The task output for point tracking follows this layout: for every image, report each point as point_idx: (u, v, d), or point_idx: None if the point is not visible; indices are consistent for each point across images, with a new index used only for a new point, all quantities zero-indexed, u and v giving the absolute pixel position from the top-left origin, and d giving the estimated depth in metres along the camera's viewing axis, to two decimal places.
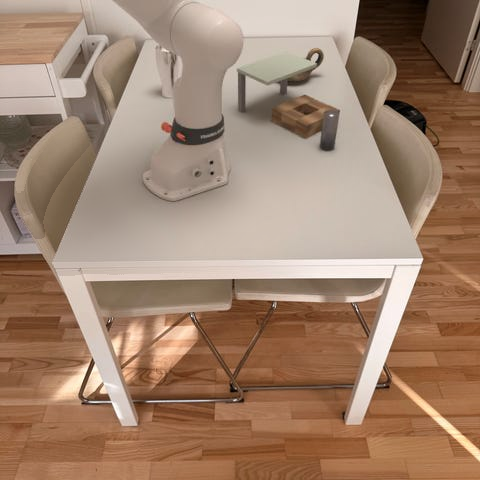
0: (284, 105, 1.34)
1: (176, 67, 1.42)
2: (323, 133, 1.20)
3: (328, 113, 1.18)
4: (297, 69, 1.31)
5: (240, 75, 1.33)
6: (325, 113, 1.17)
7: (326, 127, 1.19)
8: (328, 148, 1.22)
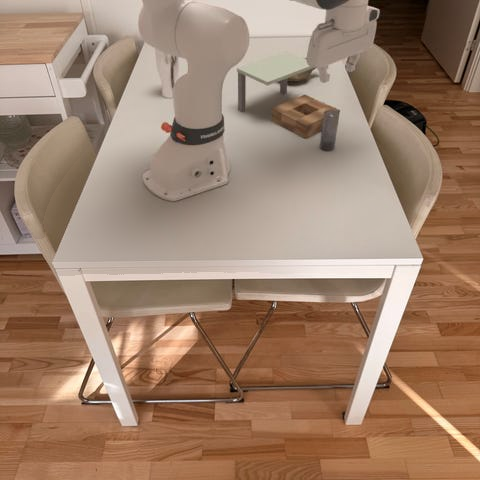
0: (284, 105, 1.34)
1: (176, 67, 1.42)
2: (323, 133, 1.20)
3: (328, 113, 1.18)
4: (297, 69, 1.31)
5: (240, 75, 1.33)
6: (325, 113, 1.17)
7: (326, 127, 1.19)
8: (328, 148, 1.22)
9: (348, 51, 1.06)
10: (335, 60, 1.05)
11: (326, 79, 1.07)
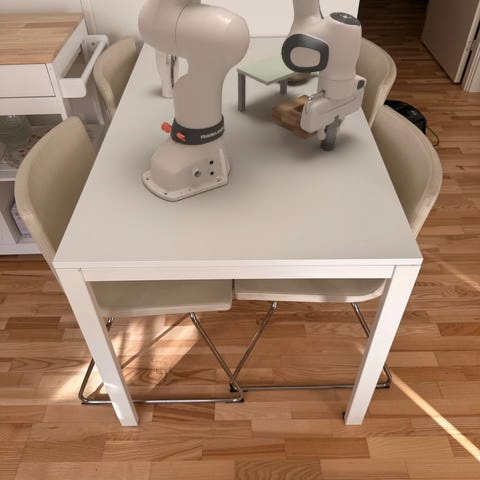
0: (284, 105, 1.34)
1: (176, 67, 1.42)
2: None
3: None
4: None
5: (240, 75, 1.33)
6: None
7: (326, 127, 1.18)
8: (328, 148, 1.22)
9: None
10: (326, 124, 1.15)
11: (323, 137, 1.19)
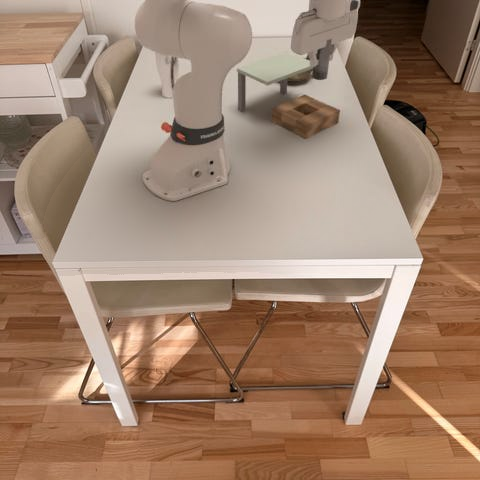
0: (284, 105, 1.34)
1: (176, 67, 1.42)
2: None
3: None
4: (297, 69, 1.31)
5: (240, 75, 1.33)
6: None
7: (318, 53, 1.15)
8: (320, 76, 1.18)
9: None
10: (318, 47, 1.12)
11: (315, 63, 1.15)
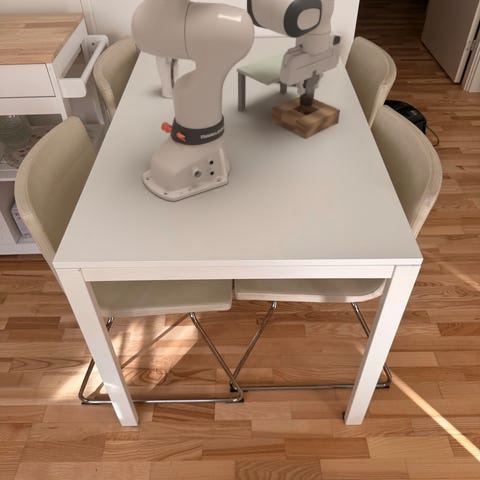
0: (284, 105, 1.34)
1: (176, 67, 1.42)
2: None
3: None
4: None
5: (240, 75, 1.33)
6: None
7: (304, 82, 1.25)
8: (307, 103, 1.29)
9: None
10: (304, 78, 1.22)
11: (302, 92, 1.26)
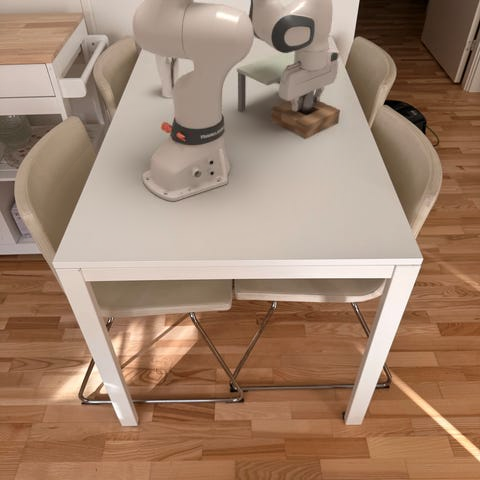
0: (284, 105, 1.34)
1: (176, 67, 1.42)
2: (300, 108, 1.31)
3: None
4: None
5: (240, 75, 1.33)
6: None
7: (302, 102, 1.29)
8: None
9: (314, 86, 1.27)
10: (303, 93, 1.25)
11: (297, 108, 1.28)
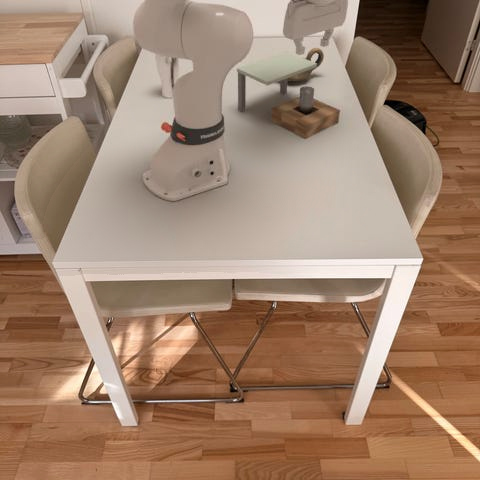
0: (284, 105, 1.34)
1: (176, 67, 1.42)
2: (300, 108, 1.31)
3: (304, 89, 1.28)
4: (297, 69, 1.31)
5: (240, 75, 1.33)
6: (301, 89, 1.28)
7: (302, 102, 1.29)
8: None
9: (322, 25, 1.15)
10: (309, 33, 1.13)
11: (301, 51, 1.16)
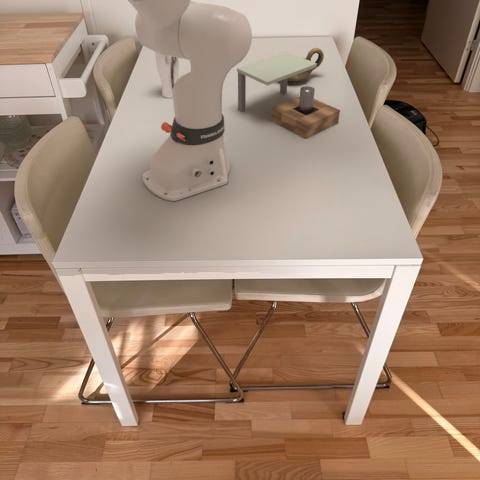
0: (284, 105, 1.34)
1: (176, 67, 1.42)
2: (300, 108, 1.31)
3: (304, 89, 1.28)
4: (297, 69, 1.31)
5: (240, 75, 1.33)
6: (301, 89, 1.28)
7: (302, 102, 1.29)
8: None
9: None
10: None
11: None
